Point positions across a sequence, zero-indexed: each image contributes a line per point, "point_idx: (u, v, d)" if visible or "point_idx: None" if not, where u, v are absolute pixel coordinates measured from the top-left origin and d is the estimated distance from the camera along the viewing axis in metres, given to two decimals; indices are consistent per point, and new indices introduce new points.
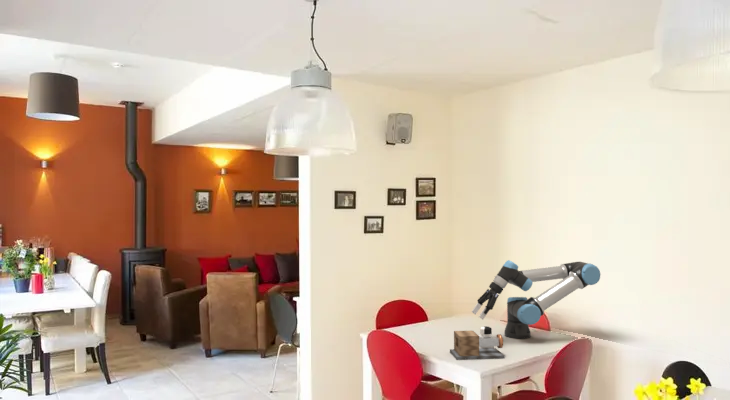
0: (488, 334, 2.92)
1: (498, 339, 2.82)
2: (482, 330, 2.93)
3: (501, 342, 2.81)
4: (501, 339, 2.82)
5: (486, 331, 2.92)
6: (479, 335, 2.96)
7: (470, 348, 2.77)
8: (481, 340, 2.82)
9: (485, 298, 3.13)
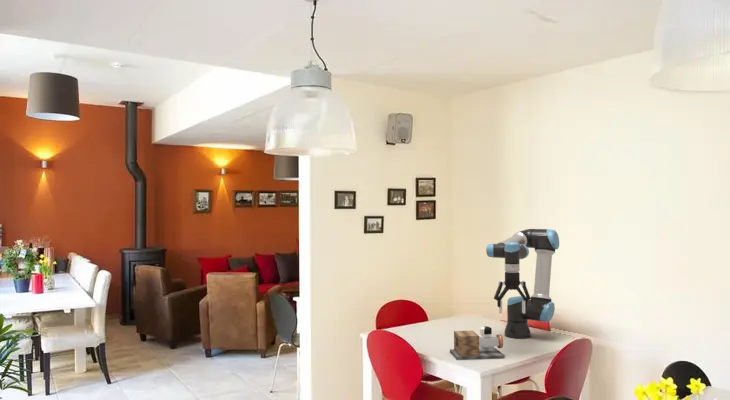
0: (488, 334, 2.92)
1: (498, 339, 2.82)
2: (482, 330, 2.93)
3: (501, 342, 2.81)
4: (501, 339, 2.82)
5: (486, 331, 2.92)
6: (479, 335, 2.96)
7: (470, 348, 2.77)
8: (481, 340, 2.82)
9: None
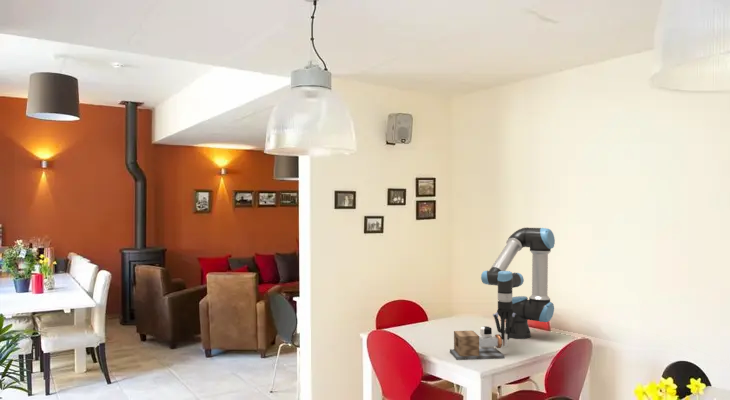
0: (488, 334, 2.92)
1: (497, 339, 2.82)
2: (482, 330, 2.93)
3: (500, 342, 2.81)
4: (500, 339, 2.82)
5: (486, 331, 2.92)
6: (479, 335, 2.96)
7: (470, 348, 2.77)
8: (480, 340, 2.82)
9: None
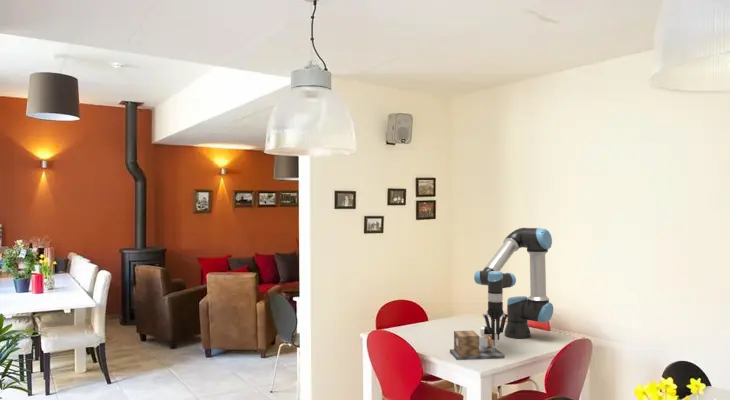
0: (488, 334, 2.92)
1: (487, 339, 2.82)
2: (482, 330, 2.93)
3: (490, 342, 2.81)
4: (490, 339, 2.81)
5: (486, 331, 2.92)
6: (479, 335, 2.96)
7: (470, 348, 2.77)
8: None
9: None
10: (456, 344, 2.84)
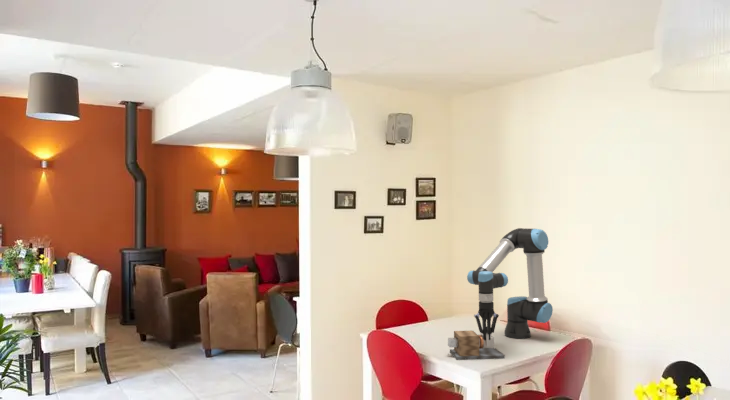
0: None
1: (479, 340, 2.82)
2: None
3: (482, 343, 2.80)
4: (482, 340, 2.81)
5: (486, 331, 2.92)
6: None
7: (470, 348, 2.77)
8: None
9: None
10: (448, 344, 2.84)
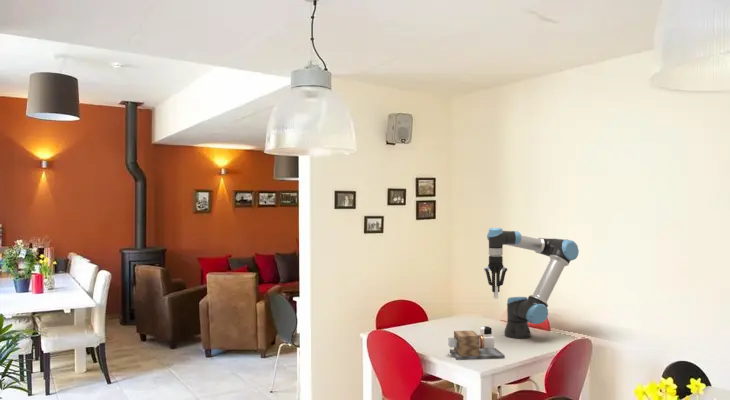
0: (488, 334, 2.92)
1: (479, 340, 2.82)
2: (482, 330, 2.93)
3: (482, 343, 2.80)
4: (482, 340, 2.81)
5: (486, 331, 2.92)
6: None
7: (470, 348, 2.77)
8: None
9: None
10: (448, 344, 2.84)
